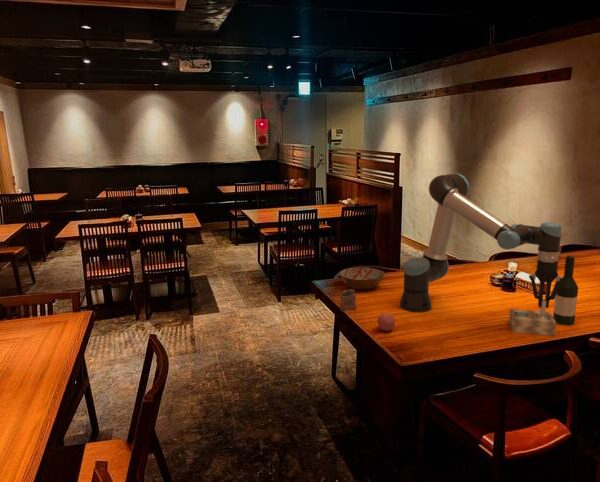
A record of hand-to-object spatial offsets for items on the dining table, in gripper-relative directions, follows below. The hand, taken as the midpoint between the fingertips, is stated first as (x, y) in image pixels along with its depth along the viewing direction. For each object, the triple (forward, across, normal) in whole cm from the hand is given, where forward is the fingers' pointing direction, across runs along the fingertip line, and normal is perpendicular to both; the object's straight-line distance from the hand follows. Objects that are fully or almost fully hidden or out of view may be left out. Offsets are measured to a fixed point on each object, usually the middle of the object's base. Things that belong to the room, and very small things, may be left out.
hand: (542, 314), depth 196 cm
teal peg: (+6, -8, 0) cm, 10 cm away
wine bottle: (+7, +11, +12) cm, 17 cm away
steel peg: (+6, 0, 0) cm, 6 cm away
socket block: (+7, -4, 0) cm, 8 cm away
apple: (+7, -63, -17) cm, 66 cm away
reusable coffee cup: (+7, +20, +100) cm, 102 cm away
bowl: (+7, -84, +40) cm, 93 cm away
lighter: (+7, -84, +3) cm, 84 cm away
